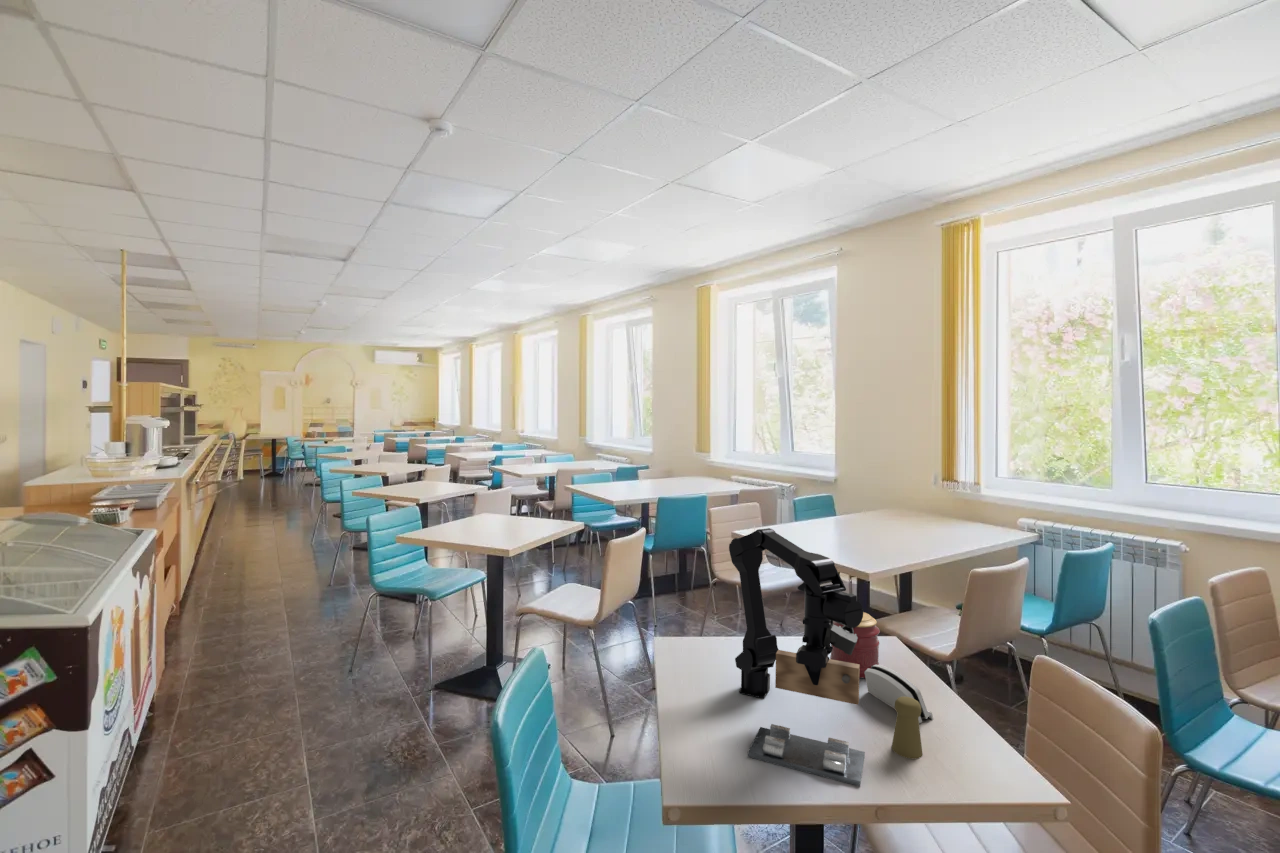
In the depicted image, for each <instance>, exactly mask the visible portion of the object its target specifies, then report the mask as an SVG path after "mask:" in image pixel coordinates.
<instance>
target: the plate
mask: <svg viewBox="0 0 1280 853" xmlns="http://www.w3.org/2000/svg"><path fill="white" fill-rule="evenodd" d="M770 724H771V725H770V728H767V727H763V726H760V727H759V729H758V731H757V732H756V735H755V737H754V739H753V741H752V742H751V744H750V746H749V749H748V751H747V758H750V759H751V758H752V759H755V760H758V761H762V762H765V763H770V764H774V765H778V766H781V767H785V768H789V769H793V770H795V771H800V772H804V773H807V774H811V775H815V776H818V777H822V778H827V779H831V780H833V781H834V780H835V781H839V782H842V783H846V784H850V785H853V786H857V787H861V783H862V778H863V777H862V776H863V770H864V765H865V757H866V756H865V754H866V752H865V751H863V750H859V749H854V748H850V747H849V744H850V743H849V741H845V740H842V739H838V738H837V739H836V738H833V737H828V738H827V742H826V741H821V740H816V739H812V738H809V737H805V736H800V735H796V734H791V728H790V727H786V726H781V725H778V724H773V723H770Z"/></svg>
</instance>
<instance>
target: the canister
mask: <svg viewBox="0 0 1280 853" xmlns="http://www.w3.org/2000/svg"><path fill="white" fill-rule="evenodd" d="M833 625H836V626H838V627H839V626H841V627H843V626H844V625H842V624H839V623H837V622H834V621H833ZM853 630H854V634H857V635H856V636H857V637H858V639H857V643H856V645H855V647H854V649H853V652H852V654H851V655H848V654H846V653H845V652H844V651H842V650H840V649H838V648H836V647H835V646H833V645H832V644H831V647H833V650H832V652H831V653H830V657H829V659H832V660H838V661H843V662H849V663H854V664H860V673H859V679H866V678H865V673H864V672H865V671H866V670H867V669H868V668H870V669H871V666H873V665H880V663H879V656H880V655H879V651H880V650H879V646H880V641H879V638H878V637H879V636H878V635H879V634H880V632H881V630H880V628H879V627H878V626H877V620H876V619H875V618H874V617H873V616H871V615H870V614H869V613H867V612H864V611H863V618H862V621H861V623H860V624H859V625H858V626H857V627H855V628H853Z"/></svg>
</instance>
